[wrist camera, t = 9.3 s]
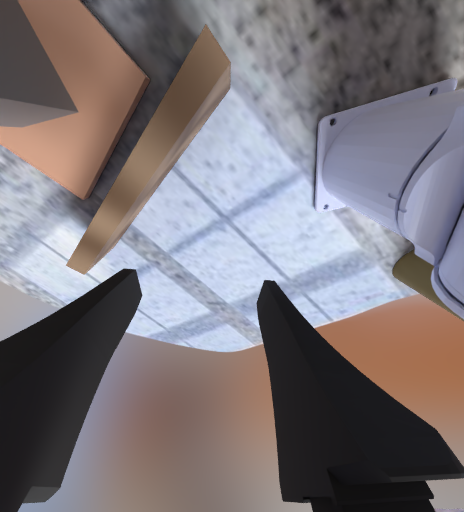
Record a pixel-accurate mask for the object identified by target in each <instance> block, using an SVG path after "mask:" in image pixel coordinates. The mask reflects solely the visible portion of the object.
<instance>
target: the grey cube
mask: <svg viewBox="0 0 464 512" xmlns="http://www.w3.org/2000/svg"><path fill="white" fill-rule="evenodd" d="M78 112H79V111H78V110H77V108H76V106H75V104H74V102H73V101H72V99H71V97H70V95H69V93H68V91H67V90H66V88H65V86H64V84H63V82H62V80H61V79H60V77H59V75H58V73H57V71H56V70H55V68H54V66H53V64H52V62H51V60H50V59H49V57H48V55H47V53H46V51H45V49H44V48H43V46H42V44H41V42H40V40H39V39H38V37H37V35H36V33H35V31H34V29H33V28H32V26H31V24H30V22H29V20H28V18H27V17H26V15H25V13H24V11H23V9H22V8H21V6H20V4H19V2H18V0H0V126H3V127H20V128H22V127H26V126H29V125H33V124H37V123H41V122H44V121H48V120H52V119H56V118H59V117H63V116H67V115H71V114H74V113H78Z"/></svg>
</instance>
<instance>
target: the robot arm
mask: <svg viewBox="0 0 464 512" xmlns="http://www.w3.org/2000/svg"><path fill="white" fill-rule="evenodd" d="M456 86H457V79H456V78H450V79H447V80H444V81H440V82H437V83H434V84H430V85H427V86H424V87H421V88H417V89H414V90H411V91H407V92H404V93H401V94H397V95H394V96H391V97H387V98H384V99H381V100H378V101H374V102H371V103H368V104H364V105H361V106H358V107H354V108H351V109H348V110H345V111H341V112H338V113H335V114H331V115H328V116H325V117H323V118H322V119H321V120H320V122H319V124H318V141H317V165H316V188H315V210H316V211H317V212H318V213H321V212H325V211H330V210H334V209H338V208H343V207H347V206H349V207H351V208H353V209H354V210H356V211H358V212H360V213H361V214H363V215H365V216H367V217H369V218H370V219H372V220H374V221H376V222H377V223H379V224H381V225H383V226H385V227H386V228H388V229H390V230H392V231H394V232H395V233H397V234H399V235H401V236H402V237H404V238H406V239H408V240H409V241H411V242H412V243H413V244H414V246H415V253H414V254H415V255H417V256H419V257H420V258H422V259H424V260H425V261H427V262H428V263H430V264H432V265H433V266H435V267H434V268H433V271H432V274H431V282H432V287H433V289H434V291H435V293H436V295H437V296H438V297H439V298H440V300H441V301H442V302H443V303H444V304H445V305H446V306H447V307H448V308H449V309H451V310H452V311H453V312H454V313H456V314H457V315H458V316H460V317H461V318H463V319H464V89H460V90H456V91H455V88H456ZM432 89H433V92H432V94H431V95H430V92H431V90H432ZM429 95H430V96H429ZM332 118H333V119H334V124H333V125H332V126H331V125H330V120H331V119H332ZM326 204H327V206H326V208H323V207H324V206H325V205H326ZM141 297H142V292H141V288H140V284H139V280H138V276H137V272H136V270H135V269H123V270H121V271H119V272H118V273H116V274H115V275H113V276H112V277H110V278H109V279H107V280H106V281H104V282H103V283H101V284H100V285H98V286H97V287H95V288H93V289H92V290H90V291H89V292H87V293H86V294H84V295H83V296H81V297H80V298H78V299H76V300H75V301H73V302H71V303H70V304H68V305H66V306H65V307H63V308H61V309H60V310H58V311H57V312H55V313H53V314H51V315H50V316H48V317H46V318H44V319H43V320H41V321H39V322H37V323H36V324H34V325H32V326H30V327H28V328H26V329H24V330H22V331H20V332H18V333H16V334H14V335H13V336H11V337H9V338H7V339H5V340H2V341H0V512H18V510H19V508H20V506H21V505H22V503H35V502H36V503H37V502H46V501H47V500H48V499H49V498H50V497H52V496H53V495H54V494H55V493H56V492H57V491H58V490H59V488H60V487H61V484H62V481H63V478H64V475H65V472H66V469H67V466H68V464H69V461H70V458H71V455H72V452H73V449H74V447H75V444H76V441H77V438H78V436H79V433H80V430H81V428H82V425H83V423H84V420H85V418H86V415H87V412H88V410H89V407H90V405H91V403H92V400H93V398H94V395H95V393H96V390H97V388H98V386H99V383H100V381H101V379H102V376H103V374H104V372H105V370H106V367H107V365H108V363H109V361H110V359H111V357H112V355H113V353H114V351H115V349H116V348H117V346H118V344H119V342H120V340H121V339H122V337H123V335H124V333H125V331H126V329H127V328H128V326H129V324H130V322H131V320H132V318H133V317H134V315H135V313H136V310H137V308H138V305H139V303H140V300H141ZM257 312H258V320H259V325H260V330H261V334H262V339H263V343H264V348H265V352H266V357H267V361H268V367H269V374H270V382H271V390H272V399H273V408H274V418H275V428H276V438H277V452H278V465H279V481H280V488H281V494H282V500H283V501H285V502H298V503H308V502H309V503H310V502H311V505H312V510H313V512H464V509H449V510H448V509H434V508H433V506H432V505H431V503H430V501H429V499H434V495H433V493H432V492H431V490H430V488H429V487H428V485H427V483H426V480H443V479H459V478H464V467H463V465H462V464H461V463H460V461H459V460H458V459H457V457H456V456H455V454H454V453H453V452H452V450H451V449H450V448H449V446H448V445H447V444H446V442H445V441H444V440H443V438H442V437H441V435H440V434H439V433H438V431H437V430H436V429H435V428H433V427H432V426H431V425H429V424H428V423H427V422H425V421H424V420H423V419H421V418H420V417H418V416H417V415H416V414H414V413H413V412H412V411H410V410H409V409H407V408H406V407H405V406H403V405H402V404H401V403H399V402H398V401H397V400H395V399H394V398H393V397H391V396H390V395H389V394H387V393H386V392H385V391H384V390H382V389H381V388H380V387H379V386H377V385H376V384H375V383H373V382H372V381H371V380H370V379H369V378H367V377H366V376H365V375H364V374H363V373H361V372H360V371H359V370H358V369H357V368H356V367H354V366H353V365H352V364H351V363H350V362H349V361H348V360H346V359H345V358H344V357H343V356H341V354H340V353H339V352H337V351H336V350H335V349H334V348H333V347H332V346H331V345H330V344H329V343H328V342H327V341H326V340H325V339H324V338H323V337H322V336H321V335H320V334H319V333H318V332H317V331H316V330H315V329H314V328H313V327H312V326H311V325H310V323H309V322H308V321H307V320H306V319H305V318H304V317H303V316H302V314H301V313H300V312H299V311H298V310H297V309H296V307H295V306H294V305H293V304H292V303H291V301H290V300H289V299H288V298H287V296H286V295H285V294H284V292H283V291H282V290H281V289H280V287H279V286H278V285H277V283H276V282H275V281H271V280H264V283H263V286H262V289H261V292H260V295H259V298H258V301H257Z"/></svg>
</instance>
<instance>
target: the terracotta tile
mask: <svg viewBox="0 0 464 512" xmlns="http://www.w3.org/2000/svg"><path fill="white" fill-rule="evenodd" d="M18 2H19V4H20V6H21V8H22V9H23V11H24V13H25V15H26V17H27V18H28V20H29V22H30V24H31V26H32V28H33V29H34V31H35V33H36V35H37V37H38V39H39V40H40V42H41V44H42V46H43V48H44V49H45V51H46V53H47V55H48V57H49V59H50V60H51V62H52V64H53V66H54V68H55V70H56V71H57V73H58V75H59V77H60V79H61V80H62V82H63V84H64V86H65V88H66V90H67V91H68V93H69V95H70V97H71V99H72V101H73V102H74V104H75V106H76V108H77V110H78V111H79V112H78V113H74V114H71V115H67V116H63V117H59V118H56V119H52V120H48V121H44V122H41V123H37V124H33V125H29V126H26V127H22V128H20V127H3V126H0V144H1V145H2V146H4V147H5V148H7V149H8V150H10V151H11V152H13V153H14V154H16V155H17V156H19V157H20V158H22V159H23V160H25V161H26V162H28V163H29V164H31V165H32V166H33V167H35V168H36V169H38V170H39V171H41V172H42V173H44V174H45V175H47V176H48V177H50V178H51V179H53V180H54V181H56V182H57V183H59V184H60V185H62V186H63V187H65V188H66V189H68V190H69V191H71V192H72V193H74V194H75V195H77V196H78V197H79V198H81V199H82V200H84V199H87V198H89V196H90V194H91V193H92V191H93V189H94V187H95V185H96V183H97V181H98V179H99V177H100V175H101V173H102V172H103V170H104V168H105V166H106V164H107V162H108V160H109V158H110V156H111V154H112V152H113V151H114V149H115V147H116V145H117V143H118V141H119V139H120V137H121V135H122V133H123V132H124V130H125V128H126V126H127V124H128V122H129V120H130V118H131V116H132V114H133V112H134V111H135V109H136V107H137V105H138V103H139V101H140V99H141V97H142V95H143V93H144V91H145V90H146V88H147V86H148V84H149V82H150V79H149V78H148V77H147V75H146V74H145V73H144V72H143V71H142V70H141V69H140V67H139V66H138V65H137V64H136V63H135V62H134V60H133V59H132V58H131V57H130V56H129V55H128V54H127V52H126V51H125V50H124V49H123V48H122V47H121V46H120V44H119V43H118V42H117V41H116V40H115V39H114V38H113V36H112V35H111V34H110V33H109V32H108V31H107V30H106V28H105V27H104V26H103V25H102V24H101V23H100V22H99V20H98V19H97V18H96V17H95V16H94V15H93V14H92V12H91V11H90V10H89V9H88V8H87V7H86V6H85V4H84V3H83V2H82V1H81V0H18Z"/></svg>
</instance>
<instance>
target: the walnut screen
mask: <svg viewBox="0 0 464 512" xmlns="http://www.w3.org/2000/svg"><path fill="white" fill-rule="evenodd" d="M230 63H231V62H230V61H229V59H228V58H227V56H226V54H225V53H224V51H223V50H222V48H221V47H220V45H219V44H218V42H217V41H216V39H215V38H214V36H213V34H212V33H211V31H210V30H209V28H208V27H207V25H205V27H204V28H203V30H202V32H201V34H200V35H199V37H198V39H197V40H196V42H195V44H194V46H193V47H192V49H191V51H190V53H189V54H188V56H187V58H186V59H185V61H184V63H183V65H182V66H181V68H180V70H179V71H178V73H177V75H176V77H175V78H174V80H173V82H172V84H171V85H170V87H169V89H168V90H167V92H166V94H165V96H164V97H163V99H162V101H161V103H160V104H159V106H158V108H157V109H156V111H155V113H154V115H153V116H152V118H151V120H150V121H149V123H148V125H147V127H146V128H145V130H144V132H143V134H142V135H141V137H140V139H139V140H138V142H137V144H136V146H135V147H134V149H133V151H132V153H131V154H130V156H129V158H128V159H127V161H126V163H125V165H124V166H123V168H122V170H121V172H120V173H119V175H118V177H117V178H116V180H115V182H114V184H113V185H112V187H111V189H110V190H109V192H108V194H107V196H106V197H105V199H104V201H103V203H102V204H101V206H100V208H99V209H98V211H97V213H96V215H95V216H94V218H93V220H92V222H91V223H90V225H89V227H88V228H87V230H86V232H85V234H84V235H83V237H82V239H81V240H80V242H79V244H78V246H77V247H76V249H75V251H74V253H73V254H72V256H71V258H70V259H69V261H68V263H67V265H66V266H68V267H70V268H72V269H74V270H76V271H78V272H80V273H82V274H84V275H85V274H86V273H87V272H88V271H89V270H90V269H91V268H92V267H93V266H94V265H95V264H96V263H97V262H99V261H100V260H101V259H102V258H103V257H104V256H105V255H106V254H107V253H108V252H109V251H110V250H111V249H113V248H114V246H115V245H116V244H117V242H118V241H119V240H120V238H121V237H122V235H123V234H124V233H125V231H126V230H127V229H128V227H129V226H130V225H131V223H132V222H133V220H134V219H135V218H136V216H137V215H138V214H139V212H140V211H141V210H142V208H143V207H144V205H145V204H146V203H147V201H148V200H149V199H150V197H151V196H152V194H153V193H154V192H155V190H156V189H157V188H158V186H159V185H160V184H161V182H162V181H163V179H164V178H165V177H166V175H167V174H168V173H169V171H170V170H171V169H172V167H173V166H174V164H175V163H176V162H177V160H178V159H179V158H180V156H181V155H182V153H183V152H184V151H185V149H186V148H187V147H188V145H189V144H190V143H191V141H192V140H193V138H194V137H195V136H196V134H197V133H198V132H199V130H200V129H201V128H202V126H203V125H204V123H205V122H206V121H207V119H208V118H209V117H210V115H211V114H212V112H213V111H214V110H215V108H216V107H217V106H218V104H219V103H220V102H221V100H222V99H223V97H224V96H225V95H226V93H227V92H228V91H229V89H230Z"/></svg>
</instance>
